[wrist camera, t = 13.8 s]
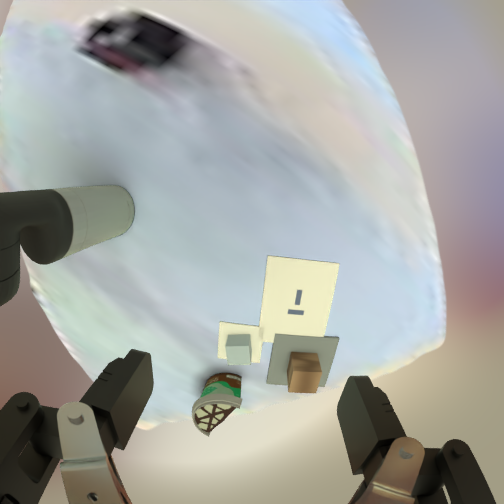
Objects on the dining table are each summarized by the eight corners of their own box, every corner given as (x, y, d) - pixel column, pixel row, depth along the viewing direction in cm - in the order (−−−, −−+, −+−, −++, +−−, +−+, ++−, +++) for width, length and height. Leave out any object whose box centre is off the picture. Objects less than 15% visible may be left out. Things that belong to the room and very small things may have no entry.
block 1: (230, 352, 49) (227, 364, 45) (228, 334, 48) (225, 346, 44) (251, 352, 49) (250, 364, 45) (250, 334, 48) (248, 345, 44)
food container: (218, 357, 50) (209, 390, 40) (245, 372, 50) (241, 406, 41) (190, 391, 53) (179, 424, 43) (215, 404, 53) (207, 437, 43)
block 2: (286, 372, 49) (288, 392, 43) (290, 351, 48) (293, 371, 42) (311, 373, 49) (315, 393, 43) (317, 353, 48) (322, 372, 42)
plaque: (217, 357, 50) (217, 357, 49) (219, 321, 48) (219, 322, 48) (259, 362, 50) (259, 362, 49) (264, 326, 48) (264, 327, 47)
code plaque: (257, 340, 48) (257, 341, 48) (267, 255, 45) (267, 255, 44) (321, 345, 48) (321, 346, 48) (339, 263, 44) (339, 263, 44)
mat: (266, 381, 51) (266, 383, 50) (275, 332, 48) (275, 334, 47) (324, 384, 50) (324, 386, 50) (338, 337, 48) (339, 338, 47)
